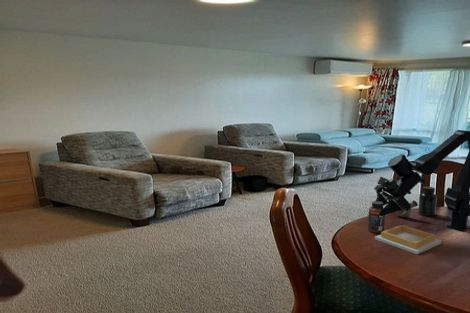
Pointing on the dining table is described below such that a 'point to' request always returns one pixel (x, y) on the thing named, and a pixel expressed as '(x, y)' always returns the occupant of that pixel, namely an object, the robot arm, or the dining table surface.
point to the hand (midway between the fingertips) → (375, 212)
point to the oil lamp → (405, 213)
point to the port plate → (408, 239)
